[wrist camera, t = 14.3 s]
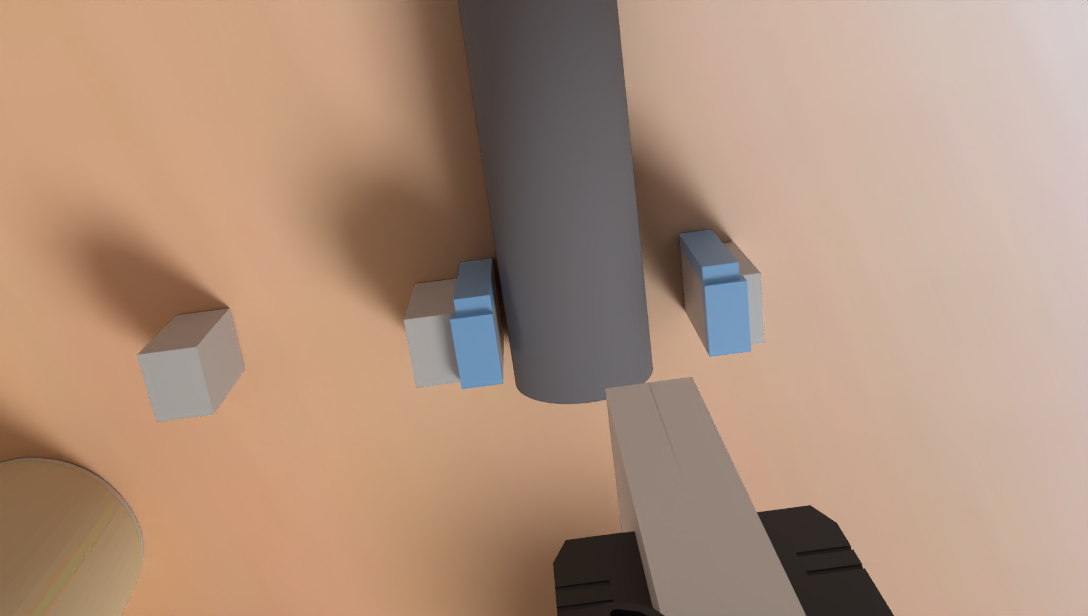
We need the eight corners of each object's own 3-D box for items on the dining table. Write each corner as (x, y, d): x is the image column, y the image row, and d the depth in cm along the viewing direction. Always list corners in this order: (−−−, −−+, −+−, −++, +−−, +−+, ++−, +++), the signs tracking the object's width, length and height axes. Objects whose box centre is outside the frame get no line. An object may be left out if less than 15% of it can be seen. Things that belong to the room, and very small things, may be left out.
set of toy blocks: (193, 376, 36) (149, 429, 32) (172, 300, 35) (125, 344, 31) (737, 304, 36) (769, 348, 32) (732, 226, 35) (764, 260, 31)
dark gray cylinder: (517, 355, 37) (513, 411, 32) (447, -118, 31) (429, -135, 27) (645, 340, 37) (660, 394, 32) (598, -139, 31) (606, -160, 26)
